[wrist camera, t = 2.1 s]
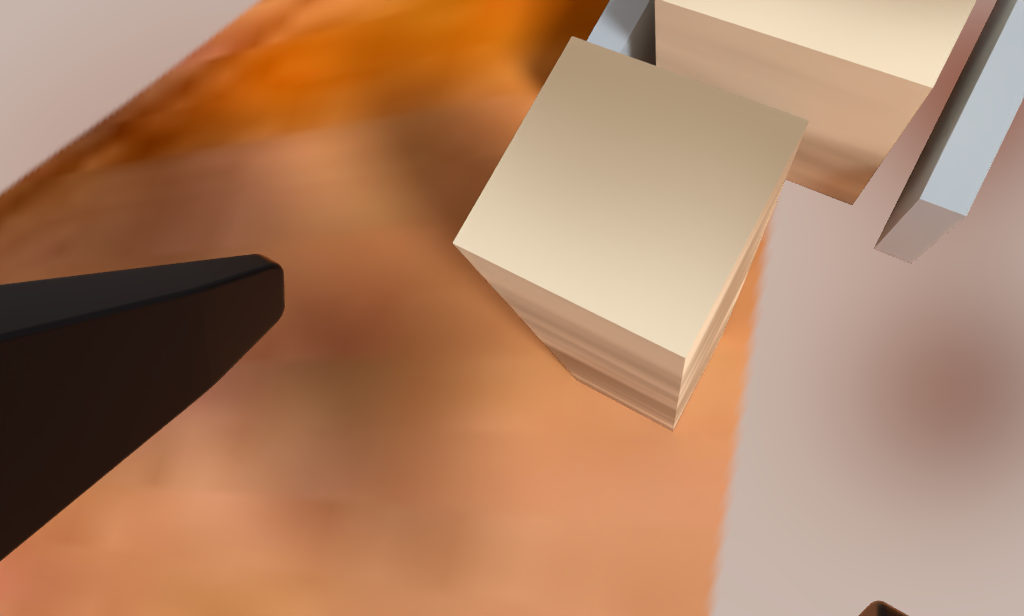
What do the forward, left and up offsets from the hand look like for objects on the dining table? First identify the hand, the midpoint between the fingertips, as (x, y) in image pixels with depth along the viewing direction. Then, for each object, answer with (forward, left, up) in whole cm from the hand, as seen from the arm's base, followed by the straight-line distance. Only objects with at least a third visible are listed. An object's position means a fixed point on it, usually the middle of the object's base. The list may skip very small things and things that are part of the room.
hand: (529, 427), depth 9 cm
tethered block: (+8, -2, -10) cm, 13 cm away
